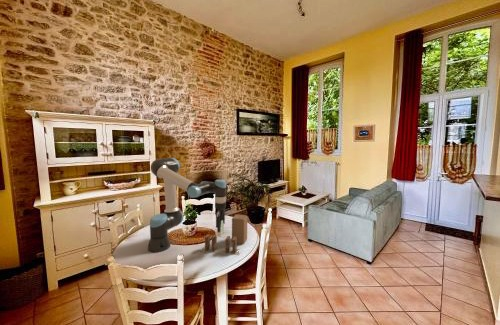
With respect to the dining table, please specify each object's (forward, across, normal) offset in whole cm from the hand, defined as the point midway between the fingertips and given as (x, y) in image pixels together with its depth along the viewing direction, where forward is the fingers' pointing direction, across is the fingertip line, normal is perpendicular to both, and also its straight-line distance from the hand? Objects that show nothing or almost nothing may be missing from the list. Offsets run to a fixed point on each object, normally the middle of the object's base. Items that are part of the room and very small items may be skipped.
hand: (220, 234), depth 149 cm
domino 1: (+12, +1, +10) cm, 16 cm away
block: (+13, +18, -10) cm, 24 cm away
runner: (+13, +1, 0) cm, 13 cm away
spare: (+1, 0, 0) cm, 1 cm away
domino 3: (+12, +1, -5) cm, 13 cm away
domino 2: (+12, +1, +5) cm, 13 cm away
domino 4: (+12, +1, -10) cm, 16 cm away
